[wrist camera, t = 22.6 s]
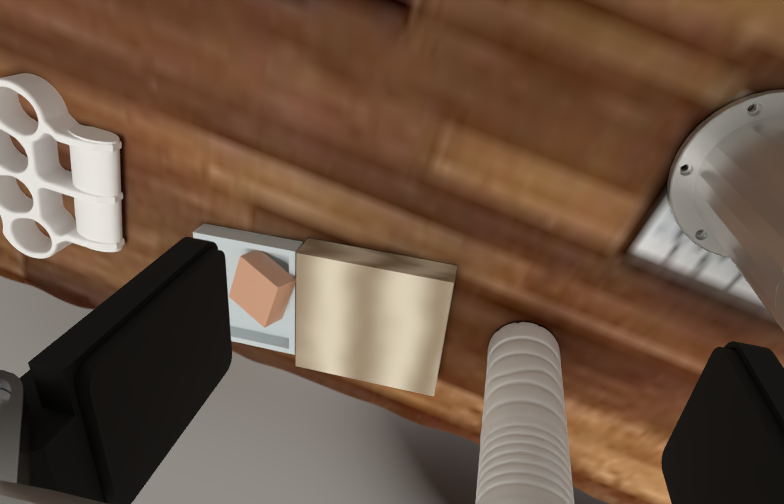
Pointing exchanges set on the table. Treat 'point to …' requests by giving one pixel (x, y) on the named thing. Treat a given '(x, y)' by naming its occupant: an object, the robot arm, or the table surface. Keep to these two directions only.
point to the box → (233, 246)
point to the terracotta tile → (261, 287)
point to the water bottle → (524, 421)
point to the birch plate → (371, 314)
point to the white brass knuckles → (56, 174)
